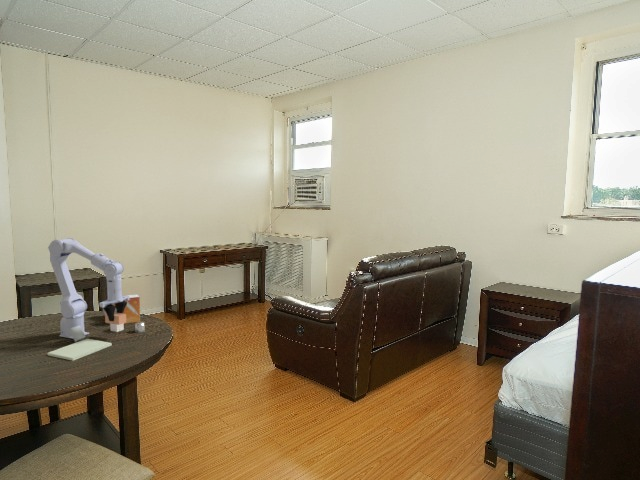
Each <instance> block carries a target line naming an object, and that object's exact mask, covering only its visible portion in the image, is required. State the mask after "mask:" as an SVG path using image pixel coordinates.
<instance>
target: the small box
mask: <svg viewBox="0 0 640 480" xmlns="http://www.w3.org/2000/svg"><path fill="white" fill-rule="evenodd" d="M126 296H129V300H126V301H125V302H127V305H126V307H125V309H124V312H123V314H126V323H124V325H125V324H129V323H131V324H132V323H137V322H141V307H140V306H141V305H140V304H141V303H140V302H141V299H140V295H138V294H137V293H136V294H128V295H126Z"/></svg>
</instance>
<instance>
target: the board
mask: <svg viewBox="0 0 640 480" xmlns="http://www.w3.org/2000/svg"><path fill="white" fill-rule="evenodd" d="M111 346H112V342H108V341H102V340H97V339H91V338H84V339H83V340H80V341H77V342H74V343H71V344H69V345H66V346H62V347H60V348H56V349H55V350H51V351H49V352H47V356H49V357H54V358H59V359H65V360H68V361H72V362H74V361H76V360H78V359H81V358H83V357H86V356H88V355H92V354H94V353H96V352H99V351H101V350H103V349H106V348H109V347H111Z"/></svg>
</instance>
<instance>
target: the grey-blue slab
mask: <svg viewBox="0 0 640 480" xmlns="http://www.w3.org/2000/svg"><path fill="white" fill-rule="evenodd" d="M69 332H70V334H71V335H72V337H73V339H72V340H74V343H77V342H79V341H82V340H85V339H86V338H87V335H85V334H84V333H83V331H82V329H81V327H80V326H76V327H73V328H71V329H70V330H69Z"/></svg>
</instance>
